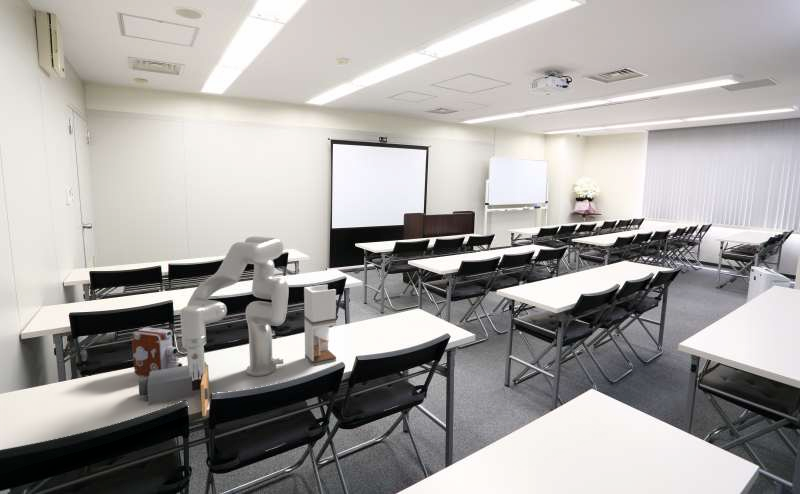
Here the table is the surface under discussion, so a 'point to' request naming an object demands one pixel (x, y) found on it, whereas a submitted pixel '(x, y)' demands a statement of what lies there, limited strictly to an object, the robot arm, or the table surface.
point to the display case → (319, 323)
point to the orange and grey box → (168, 385)
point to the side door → (205, 391)
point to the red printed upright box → (153, 350)
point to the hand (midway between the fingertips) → (197, 388)
